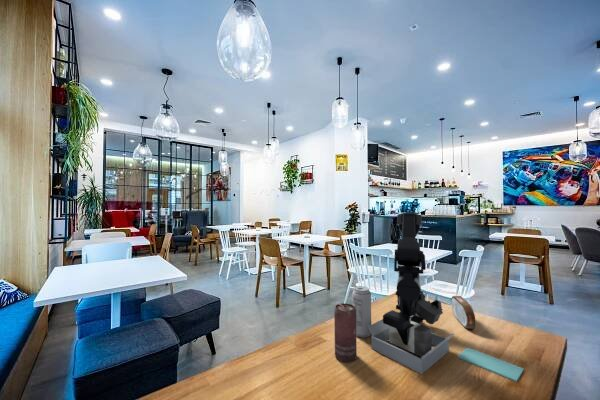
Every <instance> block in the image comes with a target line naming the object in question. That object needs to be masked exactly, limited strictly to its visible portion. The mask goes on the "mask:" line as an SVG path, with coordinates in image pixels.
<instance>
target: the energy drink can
mask: <svg viewBox="0 0 600 400" xmlns="http://www.w3.org/2000/svg"><path fill="white" fill-rule="evenodd" d="M351 296H352V297H351V298H352V299H351V300H352V305H353V306H354V307H355V309H356V337H358V338H369V337H370V336H371V335H372V334H371V332H370V331H369V329H368V326H370V325H372V293H371V292H370V288H369V287H367V286H365V285H364V286H363V285H357V286H354V288H353V290H352V295H351Z"/></svg>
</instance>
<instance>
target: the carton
mask: <svg viewBox="0 0 600 400" xmlns="http://www.w3.org/2000/svg"><path fill="white" fill-rule="evenodd" d="M368 329H369V331H370V332H371V334H370V335H371V338H370V339H371V343H370V344H371V345H370V348H371V350H374V351H375V352H377V353H380V354H382V355H383V356H385V357H387V358H389V359H391V360H394V361H395V362H397V363H399V364H401V365H403V366H404V367H407V368H409V369H411V370H413V371H415V372H417V373H418V374H421V375H423V374H424V373H425V372H426V371H427V370H428V369H430V368H431V367H432V366H433V365H435V364H436V363H437V362H438V361H439V360H440V359H441V358H443V357H444V356H445V355H446V354H448V353H449V351H450V342H449V341H450V339H451V338H452V337H453V336H455V333H454V332H452V333H451V334H449V336H447V337H444V336H442V335H439V334H437V333H434V332H432V346H433V347H432V349H431V350H430V351H429V352H428V353H426V354H425V355H424V356H422V357H421V356H419V357H418V355H416V354H415V355H414V354H413V353H410V352H409V351H407V350H405V349H403V348H399V347H397V346H396V345H394V344H392V343H390V342H389V325H386V324H384V323H383V318H382V319H380V320H378V321H376V322H374V323H371V325H370V326H368ZM388 342H389V343H388Z"/></svg>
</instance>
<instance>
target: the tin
mask: <svg viewBox="0 0 600 400" xmlns="http://www.w3.org/2000/svg"><path fill="white" fill-rule="evenodd" d="M450 299H451V309H452V313H453V316H454V317H455V319H456V321H458V323H460V325H461V326H462V327H463V328H465V329H472V330H473V329H475V328H476V324H477V322H476V315H475V311H474V309H473V307H472V305H471V303H470V302H468V300H466V299H465V298H464V297H463V296H462V295H453V296H451V298H450Z"/></svg>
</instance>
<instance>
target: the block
mask: <svg viewBox="0 0 600 400" xmlns="http://www.w3.org/2000/svg"><path fill="white" fill-rule="evenodd" d="M410 323H411V324H414V326H413V327H411V328H410V331H409V341H408V345H405V344H404V343H403V341H402V339H401V337H400V335H399V333H398V331H397V329H396V328H394V327H391V326H389V340H388V342H389V344H392V345H394V346H396V347H397V346H398V348H399V347H400V349H402V350H405V351H407V352H409V353H410V352H411V354H413V355H414V354H415V355H416V356H419V357H420V358H421V357H422V356H424V355H425V354H426V353H428V352H429V351H430V350H431V349H433V347H432V346H433V345H432V333H433V332H432V327H429V326H426V325H424V324H419V323H416V322H413V321H410Z"/></svg>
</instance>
